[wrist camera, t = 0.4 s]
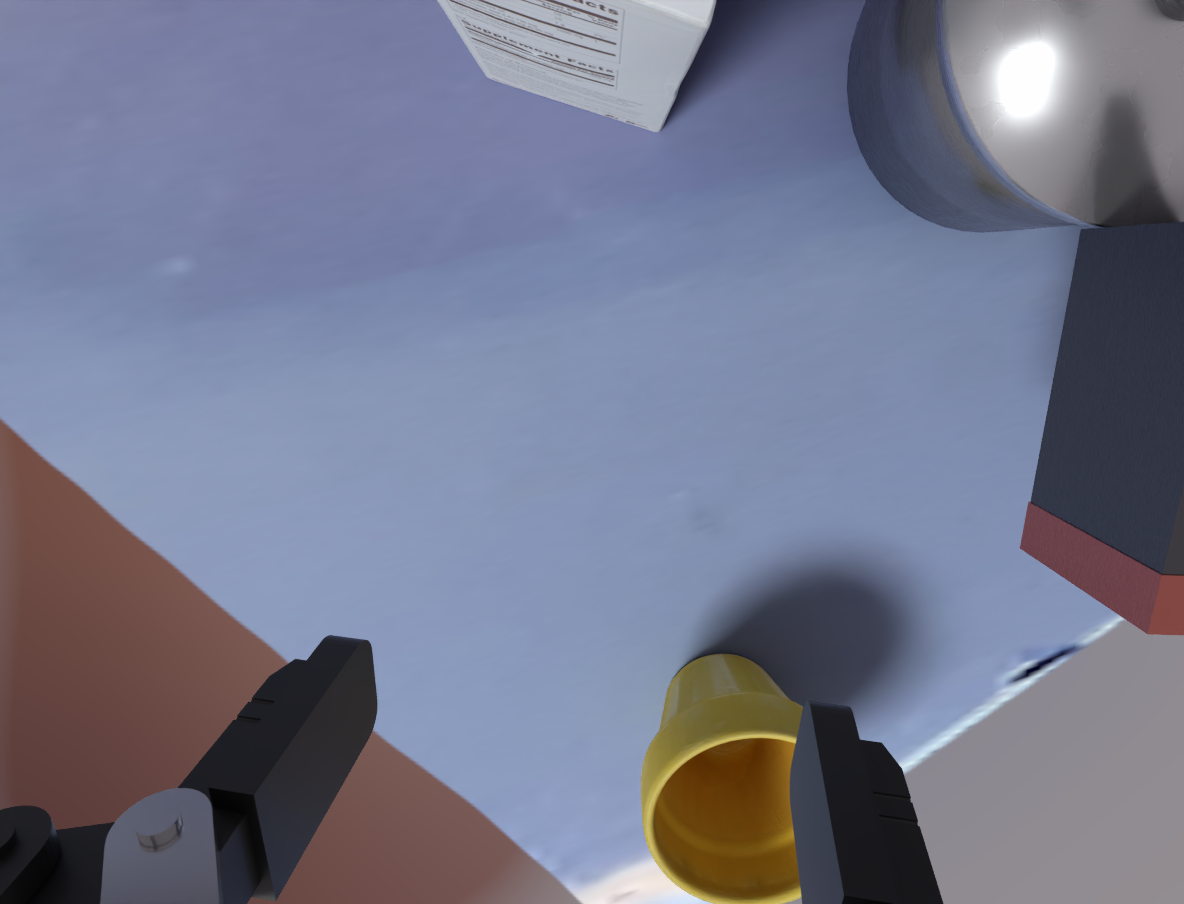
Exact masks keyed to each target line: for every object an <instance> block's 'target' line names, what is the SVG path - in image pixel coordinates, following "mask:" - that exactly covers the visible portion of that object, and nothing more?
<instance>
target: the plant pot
mask: <svg viewBox="0 0 1184 904" xmlns="http://www.w3.org/2000/svg"><path fill="white" fill-rule="evenodd" d="M802 710H803V706H801V705H799V704H797V703H795V702H793V701H791V700H790V699H789V698H788V697H787V696H786V695H785V694H784V692H783V691H782V690H781V689H780V688H779V687H778V685H777V684H776V683H775V682H774V681H773V680H772V678H771V677H770V676H769V675H768V674H767V673H766V672H765V671H764V670H763V669H762V668H761V667H760V666H759V665H757V664H756V663H754V662H753V661H751V660H749V659H747V658H744V657H741V656H738V655H733V654H712V655H707V656H704V657H701V658H698V659H696V660H694V661H692V662H690V663H689V664H687V665H686V666H685V667H683V668H682V669H681V670H680V671H679V672H678V673H677V675H676V676H675V677H674V678H673V680H672V681H671V684H670V686H669V688H668V691H667V694H666V699H665V704H664V710H663V715H662V720H661V725H660V730H659V732H658V733H657V734H656V736H655V737H654V739H653V740H652V742H651V744H650V746H649V748H648V750H647V753H646V755H645V758H644V762H643V767H642V775H641V804H642V819H643V828H644V834H645V838H646V842H647V845H648V848H649V850H650V853H651V855H652V857H653V858H654V860H655V862H656V863H657V865H658V866H659V867H660V869H661V870H662V871H663V873H664V874H665V875H666V876H667V877H668V878H669V879H670V880H671V881H672V882H673V883H675V884H676V885H677V886H678V887H680V888H681V889H683V890H684V891H686V892H687V893H689V894H691V895H693V896H695V897H697V898H699V899H702V900H704V901H707V902H710V903H714V904H784V903H787V902H791V901H794V900H796V899H799V898H801V897H802V896H801V888H800V880H799V872H798V864H797V855H796V847H795V839H794V831H793V823H792V815H791V806H790V770H791V764H792V759H793V754H794V749H795V744H796V739H797V734H798V730H799V725H800V720H801V715H802Z"/></svg>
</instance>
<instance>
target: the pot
mask: <svg viewBox="0 0 1184 904" xmlns="http://www.w3.org/2000/svg"><path fill="white" fill-rule="evenodd" d="M935 6H936V0H866V3H865V5H864V8H863V10H862V13H861V15H860V17H859V20H858V23H857V26H856V30H855V34H854V37H853V41H852V44H851V51H850V57H849V64H848V82H847V92H848V104H849V113H850V117H851V122H852V127H853V131H854V134H855V137H856V140H857V143H858V145H859V148H860V151H861V153H862V155H863V157H864V159H865V161H866V163H867V165H868V167H869V168H870V170H871V171H872V173H873V174H874V176H875V177H876V178H877V180H878V181H879V183H880V184H881V185H882V186H883V187H884V188H885V189H886V191H887V192H888V193H889V194H890V195H891V196H892V197H893V198H894V199H895V200H897V201H898V202H899V203H900V204H902V205H903V206H904V207H906V208H907V209H908V210H909V211H911V212H913V213H915V214H916V215H918V216H920V217H922V218H924V219H925V220H928V221H930V222H933V223H935V224H938V225H941V226H943V227H947V228H952V229H956V230H960V231H970V232H999V231H1011V230H1023V229H1034V228H1045V227H1056V226H1068V225H1078V224H1074V223H1070V222H1066V221H1064V220H1061V219H1059V218H1056V217H1054V216H1051V215H1049V214H1046V213H1044V212H1042V211H1040V210H1038V209H1036V208H1035V207H1033V206H1031V205H1030V204H1028V203H1026V202H1025V201H1023V200H1021V199H1020V198H1018V197H1017V196H1016V195H1014V194H1013V193H1012V192H1011V191H1010V190H1008V189H1007V188H1006V187H1005V186H1004V185H1002V184H1001V183H1000V182H999V181H997V179H996V178H995V177H994V176H993V175H992V174H991V173H990V172H989V171H988V169H987V168H986V167H985V166H984V165H983V164H982V163H981V162H980V161H979V159H978V158H977V156H976V155H975V153H974V152H973V150H972V149H971V147H970V146H969V144H968V143H967V141H966V140H965V138H964V136H963V134H962V132H961V130H960V128H959V126H958V124H957V122H956V120H955V117H954V115H953V113H952V111H951V109H950V105H949V102H948V99H947V96H946V93H945V90H944V86H943V83H942V79H941V74H940V68H939V62H938V57H937V51H936V33H935Z"/></svg>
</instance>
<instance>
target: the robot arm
mask: <svg viewBox="0 0 1184 904" xmlns="http://www.w3.org/2000/svg"><path fill="white" fill-rule="evenodd" d="M376 714H377V694H376V684H375V674H374V664H373V654H372V647H371V644H370V642H369V641H368V640H362V639H355V638H347V637H340V636H333V635H329V636H327V637H325V638H324V639H323V640H322V641H321V643H320V644H319V645H318V647H317V648H316V649H315V650H314V652H313V653H312V654H311V656H310V657H309V658H308V659H307V661H306V660H299V659H295V660H293V661H292V662H290V663H289V664H287V665H286V666H284V667H283V668H281V669H280V670H278V671H277V672H275V673H274V674H272V675H271V676H269V678H268V679H267V680H266V681H265V682H264V684H263V685H262V686H261V687H260V688H259V690H258V691H257V692H256V693H255V695H254V696H253V697H252V701H251V702H248V703H247V704H246V705H245V707H244V708H243V709H242V710H241V712H240V713H239V714H238V717H237V719H236V720H233V721H232V723H231V724H230V725H229V726H228V728H227V729H226V730H225V731H224V732H223V733H222V735H221V736H220V737H219V738H218V740H217V741H216V742H215V743H214V744H213V746H212V747H211V748H210V749H209V750H208V752H207V753H206V754H205V755H204V757H203V758H202V759H201V760H200V761H199V763H198V764H197V765H196V766H195V768H194V769H193V770H192V771H191V772H190V774H189V775H188V776H187V777H186V778H185V780H184V781H183V782H182V783H181V785H180V786H179V787H178V788H175V789H169V790H165V791H161V792H158V793H156V794H153V795H151V796H149V797H147V798H145V799H143V800H141V801H139V802H138V803H136V804H135V805H133V806H132V807H131V808H129V809H128V810H127V811H126V812H124V813H123V814H122V815H121V816H120V817H119V819H118V820H117V821H116V822H112V823H106V824H98V825H91V826H84V827H76V828H68V829H60V830H55V828H54V825H53V822H52V820H51V817H50V816H49V814H48V813H47V812H46V811H45V810H43V809H41V808H39V807H35V806H15V807H10V808H6V809H2V810H0V904H247V903H248V901H249V900H250V898H251V897H256V898H260V899H266V900H271V901H276V900H277V898H278V897H279V895H280V893H281V891H282V890H283V888H284V886H285V884H286V883H287V881H288V879H289V877H290V876H291V874H292V872H293V870H294V869H295V867H296V865H297V863H298V862H299V860H300V858H301V856H302V855H303V853H304V851H305V849H306V847H307V846H308V844H309V842H310V841H311V839H312V837H313V835H314V834H315V832H316V830H317V828H318V826H319V825H320V823H321V821H322V819H323V818H324V816H325V814H326V813H327V811H328V809H329V807H330V805H331V804H332V802H333V800H334V798H335V797H336V795H337V793H338V792H339V790H340V788H341V786H342V785H343V783H344V781H345V779H346V778H347V776H348V774H349V772H350V771H351V769H352V767H353V765H354V764H355V762H356V760H357V758H358V756H359V755H360V753H361V751H362V749H363V748H364V746H365V744H366V742H367V741H368V739H369V737H370V735H371V733H372V730H373V727H374V724H375V720H376ZM910 798H911V797H910V794H909V791H908V787H907V784H906V781H905V777H904V774H903V771H902V768H901V767H900V766H899V765H898V763H897V762H896V761H895V759H894V758H893V757H892V755H891V754H890V753H889V752H888V750H887V749H886V748H885V746H884V745H883V744H882V743H880V742H872V741H865V740H860V739H859V735H858V731H857V727H856V723H855V719H854V715H853V712H852V709H851V708H850V707H848V706H840V705H833V704H825V703H818V702H811V701H806V702H805V704H804V707H803V710H802V715H801V720H800V725H799V730H798V734H797V739H796V744H795V749H794V754H793V759H792V764H791V770H790V806H791V815H792V823H793V831H794V839H795V847H796V855H797V864H798V872H799V880H800V888H801V896H802V904H943V901H942V898H941V895H940V891H939V888H938V885H937V881H936V878H935V875H934V872H933V868H932V865H931V862H930V859H929V856H928V852H927V849H926V846H925V842H924V839H923V836H922V833H921V830H920V827H919V826H918V825H917V822H918V820H917V816H916V813H915V810H914V807H913V804H912V803H911V801H910Z"/></svg>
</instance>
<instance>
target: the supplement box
mask: <svg viewBox="0 0 1184 904" xmlns="http://www.w3.org/2000/svg"><path fill="white" fill-rule="evenodd" d="M437 1H438V2H439V4H440V5H441V7H442V8H443V10H444V11H445V13H446V14H447V16H448V18H449V19H450V21H451V22H452V24H453V26H454V27H455V29H456V30H457V32H458V33H459V35H460V36H461V38H462V39H463V41H464V43H465V44H466V46H467V47H468V49H469V50H470V52H471V53H472V55H473V57H474V58H475V60H476V61H477V63H478V64H479V66H480V68H481V69H482V71H483V72H484V73H485V75H486V77H488V78H490V79H492V80H495V81H497V82H500V83H503V84H506V85H509V86H512V87H515V88H518V89H522V90H525V91H528V92H531V93H534V94H537V95H540V96H544V97H547V98H550V99H553V100H556V101H559V102H562V103H566V104H569V105H572V106H575V107H578V108H581V109H584V110H587V111H591V112H594V113H597V114H600V115H603V116H606V117H609V118H612V119H616V120H619V121H622V122H625V123H628V124H631V125H634V126H638V127H641V128H644V129H647V130H650V131H653V132H660V131H661V130H662V128H663V126H664V124H665V121H666V118H667V116H668V114H669V112H670V110H671V107H672V105H673V103H674V101H675V99H676V96H677V93H678V90H679V87H680V84H681V82H682V80H683V79H684V77H685V75H686V74H687V72H688V70H689V68H690V66H691V64H692V62H693V60H694V58H695V56H696V54H697V52H698V50H699V48H700V46H701V43H702V41H703V39H704V37H705V35H706V33H707V31H708V29H709V27H710V24H711V22H712V17H713V13H714V9H715V5H716V1H717V0H437Z"/></svg>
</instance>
